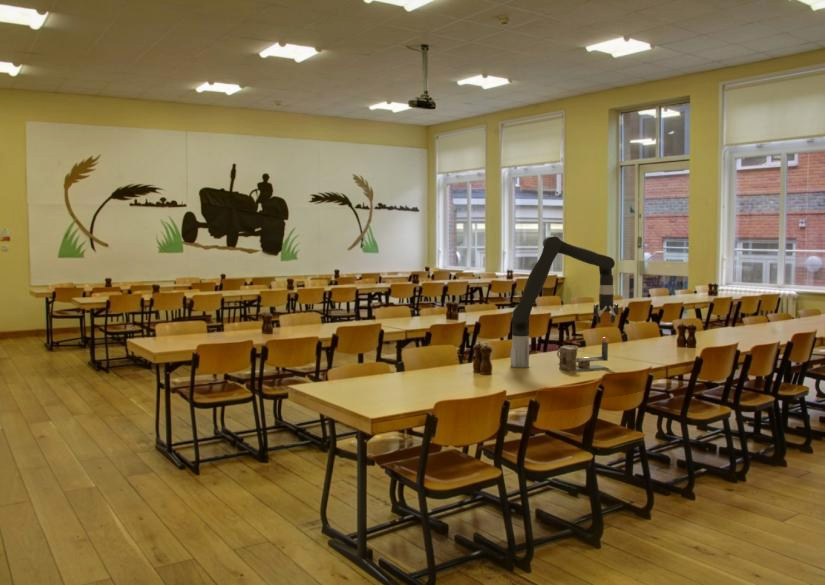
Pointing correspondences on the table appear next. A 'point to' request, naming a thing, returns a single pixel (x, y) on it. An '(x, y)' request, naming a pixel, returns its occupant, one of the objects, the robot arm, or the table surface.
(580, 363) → the saddle
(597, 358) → the hook rod
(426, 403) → the table surface
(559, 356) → the mug
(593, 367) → the mat
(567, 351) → the grey upright block
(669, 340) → the table surface
